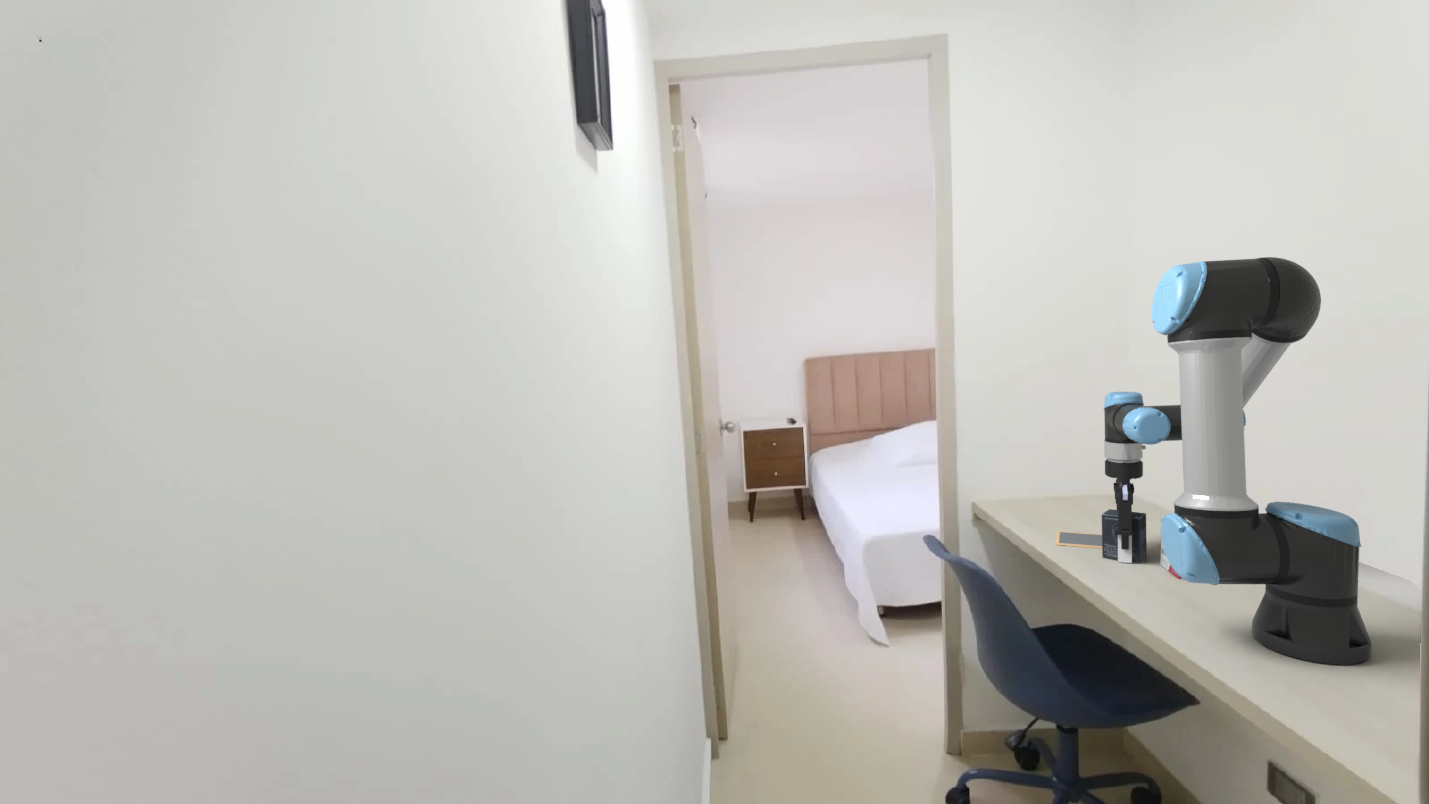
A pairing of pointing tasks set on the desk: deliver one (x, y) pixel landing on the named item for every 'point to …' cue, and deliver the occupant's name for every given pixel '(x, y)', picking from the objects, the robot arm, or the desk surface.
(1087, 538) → the mat
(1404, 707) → the desk surface
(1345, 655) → the robot arm
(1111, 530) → the box
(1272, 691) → the desk surface
